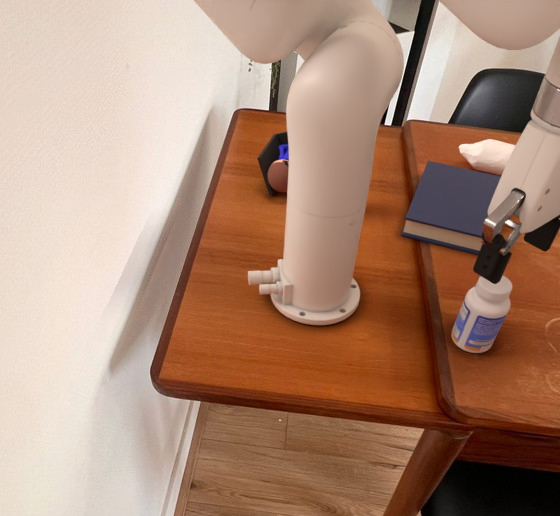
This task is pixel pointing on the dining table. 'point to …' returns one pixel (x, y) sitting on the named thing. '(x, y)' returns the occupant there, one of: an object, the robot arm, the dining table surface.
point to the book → (450, 207)
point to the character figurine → (275, 163)
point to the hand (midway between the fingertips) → (511, 260)
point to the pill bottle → (482, 315)
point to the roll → (488, 155)
